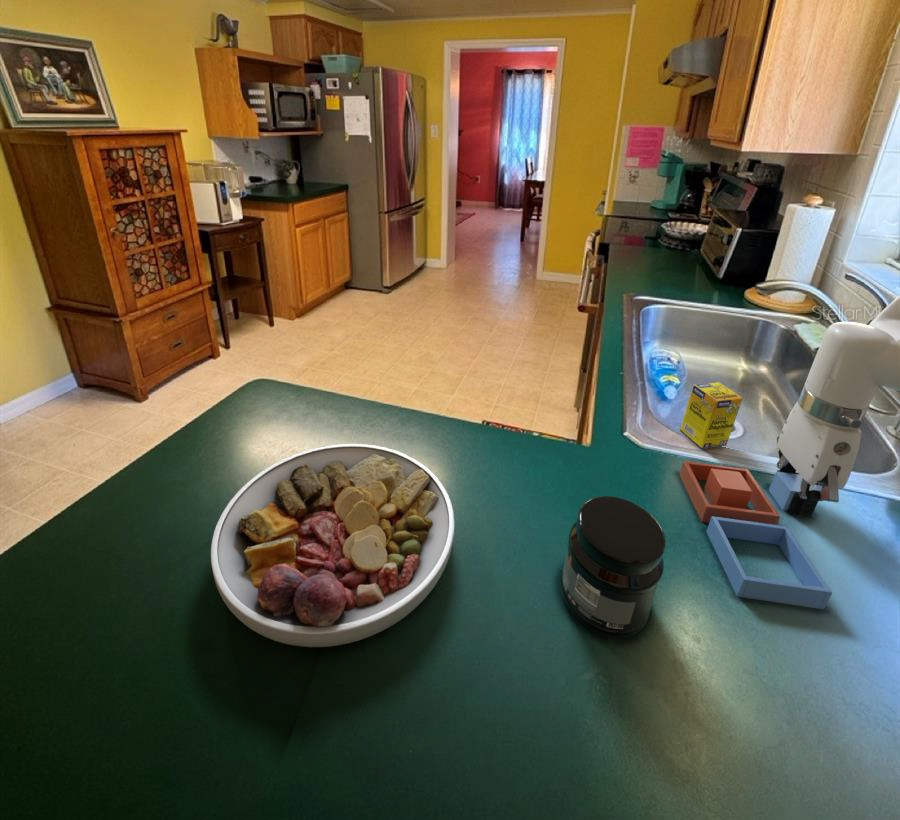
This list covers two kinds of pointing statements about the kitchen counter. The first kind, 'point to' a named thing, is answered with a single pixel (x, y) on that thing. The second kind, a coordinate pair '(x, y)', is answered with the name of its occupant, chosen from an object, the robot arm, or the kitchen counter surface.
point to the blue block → (786, 488)
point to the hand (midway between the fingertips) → (789, 502)
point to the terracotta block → (727, 489)
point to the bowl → (332, 544)
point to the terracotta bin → (706, 510)
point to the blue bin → (763, 589)
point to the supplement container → (613, 566)
